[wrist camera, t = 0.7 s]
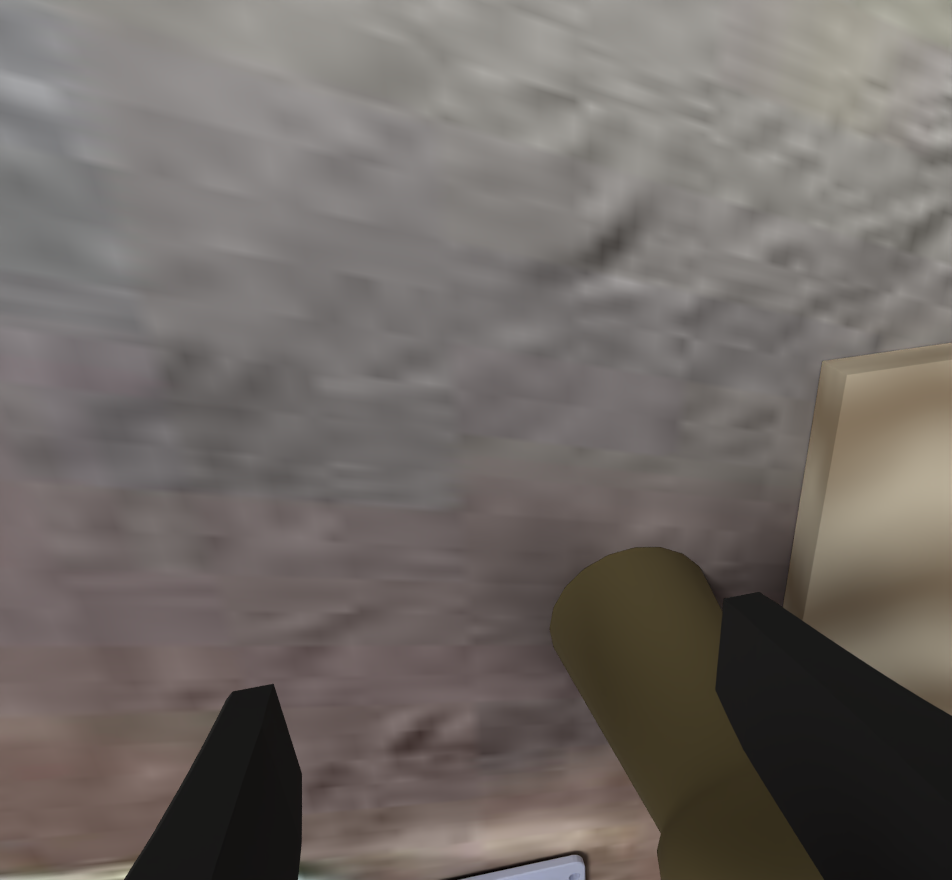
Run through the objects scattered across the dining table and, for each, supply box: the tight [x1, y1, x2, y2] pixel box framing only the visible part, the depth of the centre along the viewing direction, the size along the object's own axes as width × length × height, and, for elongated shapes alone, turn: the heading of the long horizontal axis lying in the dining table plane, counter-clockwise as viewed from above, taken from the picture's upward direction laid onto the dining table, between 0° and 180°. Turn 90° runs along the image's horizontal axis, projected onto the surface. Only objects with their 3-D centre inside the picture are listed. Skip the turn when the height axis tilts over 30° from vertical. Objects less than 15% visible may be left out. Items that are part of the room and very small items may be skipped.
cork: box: [550, 547, 824, 880], centre depth 20 cm, size 6×6×11 cm
